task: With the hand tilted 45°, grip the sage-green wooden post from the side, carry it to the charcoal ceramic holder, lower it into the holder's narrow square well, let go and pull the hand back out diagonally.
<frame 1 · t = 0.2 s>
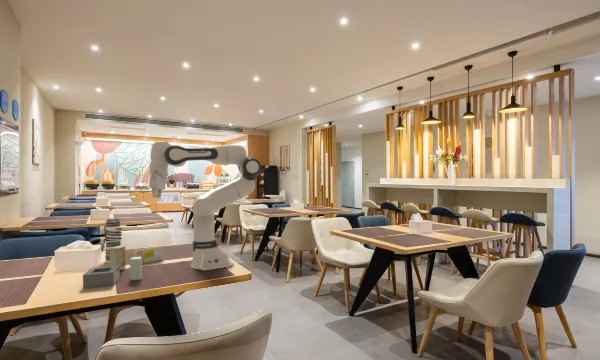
hand: (156, 197, 170), 38 cm above the table, tool pointing down, fingers open, 8 cm apart
skincare box: (118, 270, 172), on the table
decorative candle: (113, 260, 192), on the table
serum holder: (102, 282, 151), on the table
candy box: (147, 263, 187), on the table
sage post: (136, 278, 157), on the table
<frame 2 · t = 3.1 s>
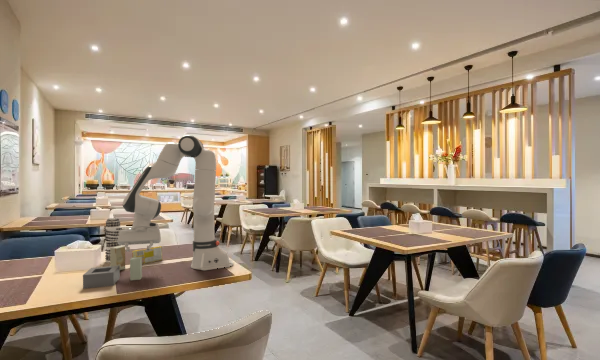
hand: (138, 250, 164), 12 cm above the table, tool tilted 45°, fingers open, 8 cm apart
nothing on the table moved.
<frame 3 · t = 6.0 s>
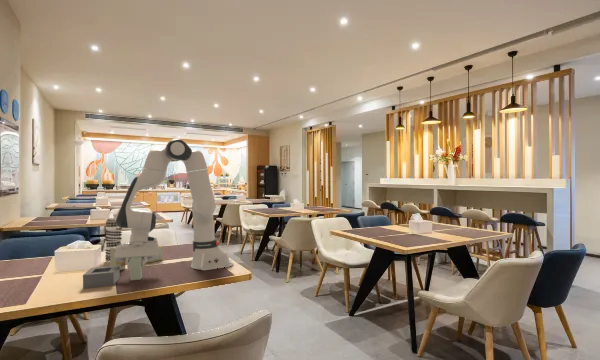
hand: (135, 266, 156), 6 cm above the table, tool tilted 45°, fingers closed on sage post, 4 cm apart
sage post: (136, 278, 157), on the table, touching gripper
everything else where it was.
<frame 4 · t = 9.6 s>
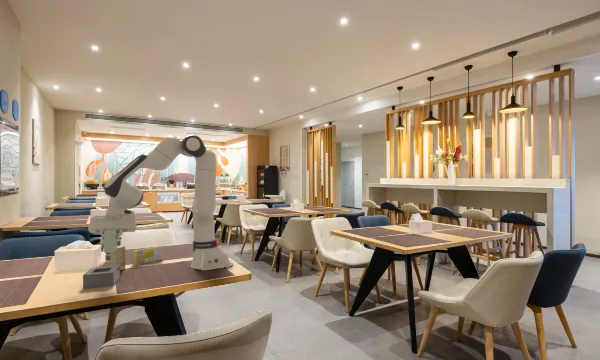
hand: (110, 238, 152), 20 cm above the table, tool tilted 45°, fingers closed on sage post, 4 cm apart
sage post: (110, 251, 152), point 14 cm above the table, touching gripper
everything else where it was.
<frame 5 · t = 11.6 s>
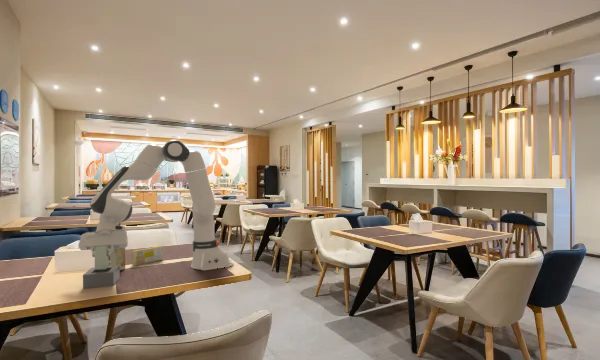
hand: (101, 255, 150), 13 cm above the table, tool tilted 45°, fingers closed on sage post, 4 cm apart
sage post: (101, 268, 151), point 7 cm above the table, touching gripper
everything else where it was.
when the fingers open (9 cm above the table, at t = 13.3 s): sage post drops 2 cm, resting on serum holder.
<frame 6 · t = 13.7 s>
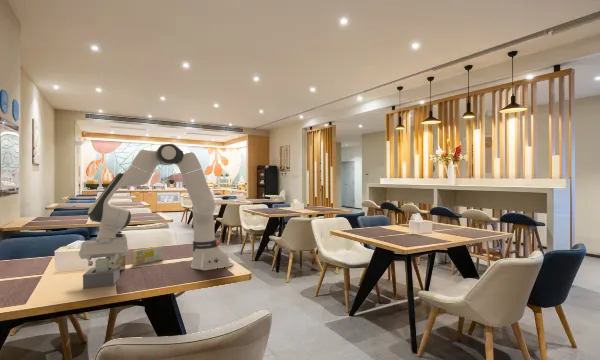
hand: (101, 264, 150), 9 cm above the table, tool tilted 45°, fingers open, 8 cm apart
sage post: (102, 280, 151), point 1 cm above the table, touching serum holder
everything else where it was.
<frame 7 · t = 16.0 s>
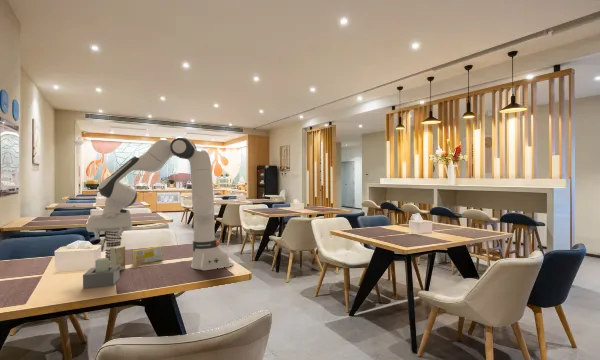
hand: (107, 236, 160), 20 cm above the table, tool tilted 45°, fingers open, 8 cm apart
nothing on the table moved.
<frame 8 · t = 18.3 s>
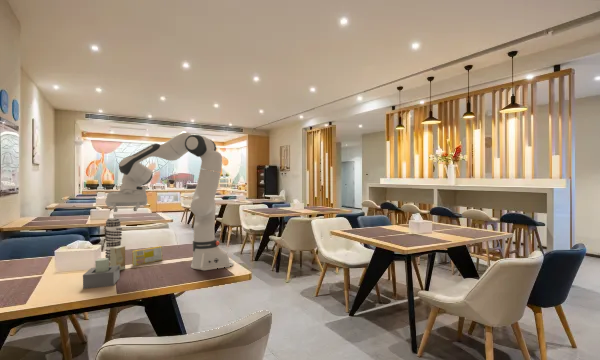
hand: (125, 210, 173), 31 cm above the table, tool tilted 45°, fingers open, 8 cm apart
nothing on the table moved.
at the end: sage post 0.1 cm off-centre on the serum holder, point 1.0 cm above the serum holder's base; sage post tilted 0°; the gripper is holding nothing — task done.
